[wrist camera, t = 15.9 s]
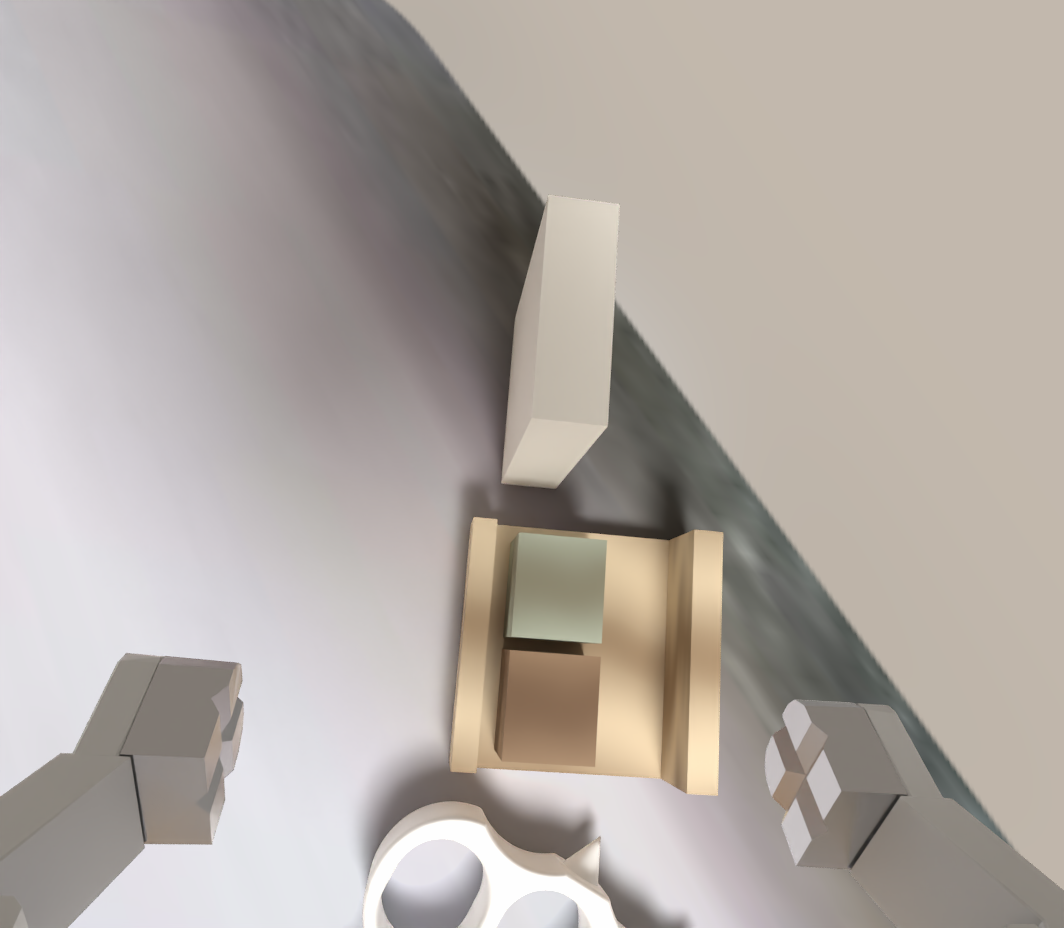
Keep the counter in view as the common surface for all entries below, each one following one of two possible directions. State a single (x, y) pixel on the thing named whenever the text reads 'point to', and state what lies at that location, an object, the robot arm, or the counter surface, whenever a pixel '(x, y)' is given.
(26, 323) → the counter surface
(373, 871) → the knuckle duster
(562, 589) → the offcuts
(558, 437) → the cream board
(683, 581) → the oak rack
